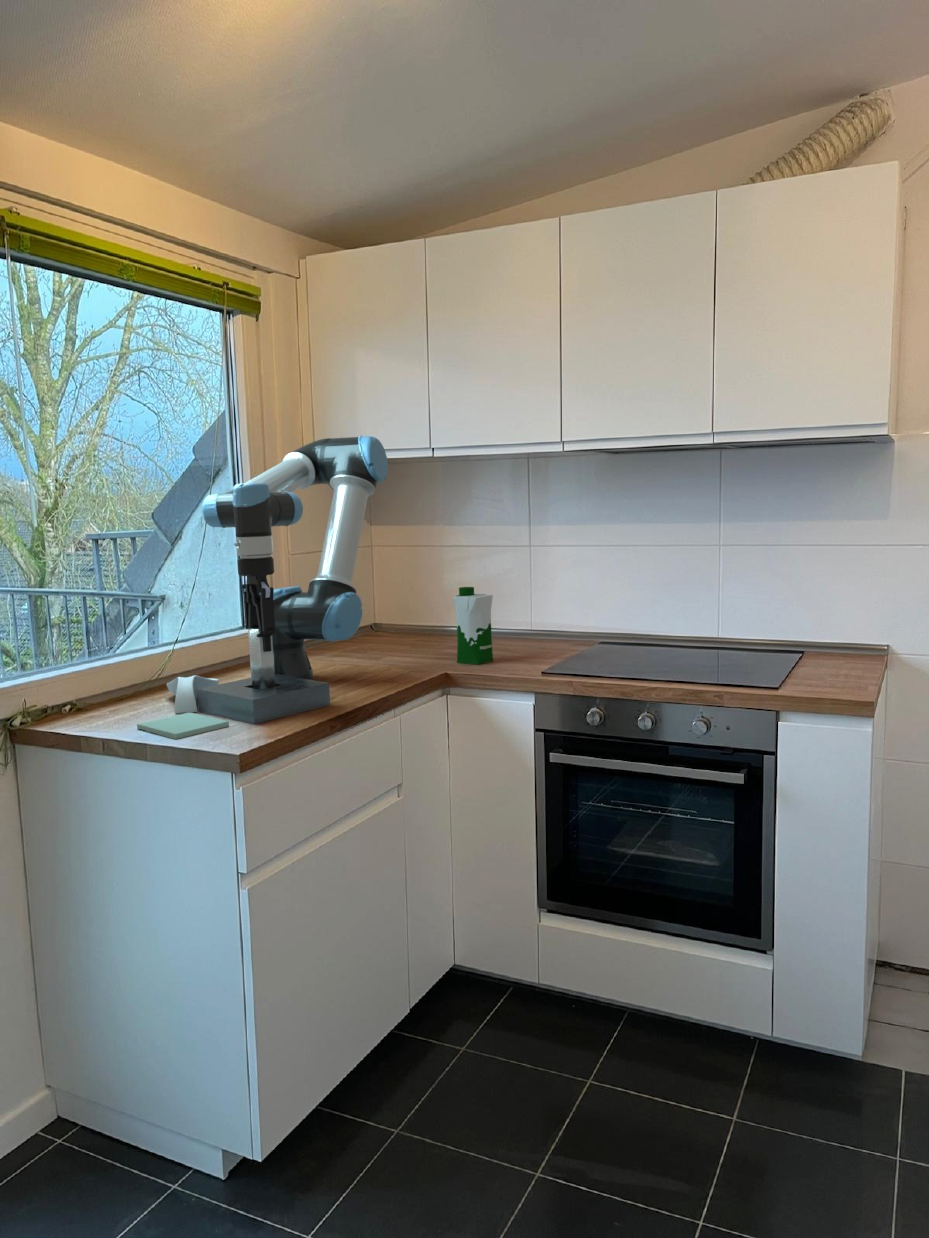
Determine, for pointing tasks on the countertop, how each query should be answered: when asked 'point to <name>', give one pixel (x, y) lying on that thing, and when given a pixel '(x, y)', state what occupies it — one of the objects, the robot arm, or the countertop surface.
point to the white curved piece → (188, 691)
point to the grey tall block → (259, 675)
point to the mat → (183, 725)
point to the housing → (263, 699)
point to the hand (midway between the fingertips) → (262, 664)
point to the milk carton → (473, 627)
